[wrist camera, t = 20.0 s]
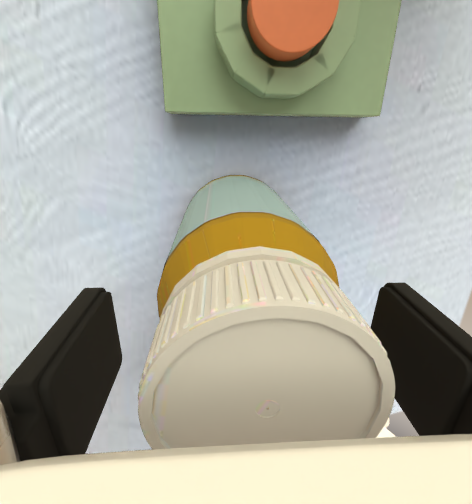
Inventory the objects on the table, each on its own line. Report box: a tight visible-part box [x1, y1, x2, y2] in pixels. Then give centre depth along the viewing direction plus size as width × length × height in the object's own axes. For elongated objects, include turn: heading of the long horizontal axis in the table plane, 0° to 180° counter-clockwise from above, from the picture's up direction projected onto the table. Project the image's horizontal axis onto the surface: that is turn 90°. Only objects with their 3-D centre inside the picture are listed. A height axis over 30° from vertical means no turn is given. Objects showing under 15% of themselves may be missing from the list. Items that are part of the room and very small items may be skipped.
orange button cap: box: [247, 0, 339, 62], centre depth 12 cm, size 4×4×2 cm
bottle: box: [138, 175, 395, 449], centre depth 14 cm, size 7×7×15 cm
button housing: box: [157, 0, 401, 118], centre depth 15 cm, size 12×8×4 cm, turn 89°
